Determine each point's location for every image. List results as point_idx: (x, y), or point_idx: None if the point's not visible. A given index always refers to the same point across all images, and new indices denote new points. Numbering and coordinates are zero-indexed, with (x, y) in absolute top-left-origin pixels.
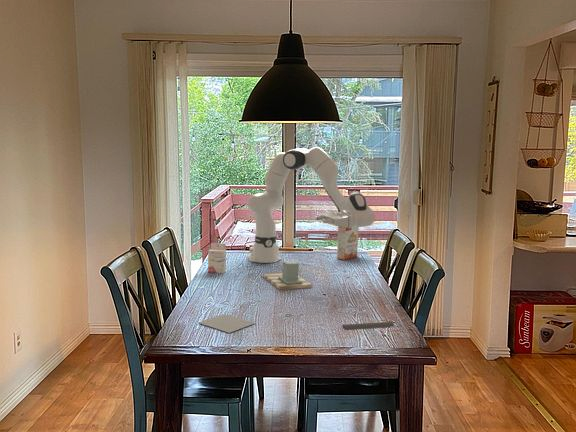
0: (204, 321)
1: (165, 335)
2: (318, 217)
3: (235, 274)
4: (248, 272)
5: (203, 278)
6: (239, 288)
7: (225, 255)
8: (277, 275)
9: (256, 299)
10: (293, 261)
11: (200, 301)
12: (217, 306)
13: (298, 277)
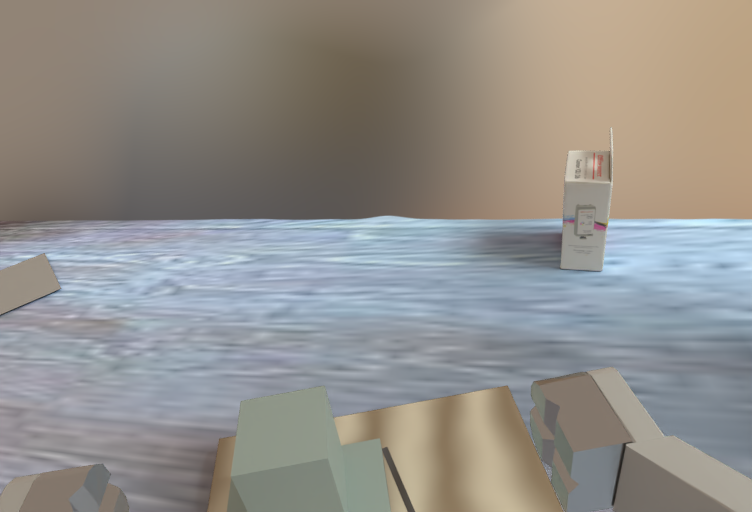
0: (41, 261)
1: (26, 225)
2: (556, 434)
3: (541, 300)
4: (591, 342)
5: (471, 230)
6: (310, 315)
7: (593, 206)
8: (461, 452)
9: (143, 360)
10: (298, 448)
11: (211, 245)
12: (142, 275)
13: None
